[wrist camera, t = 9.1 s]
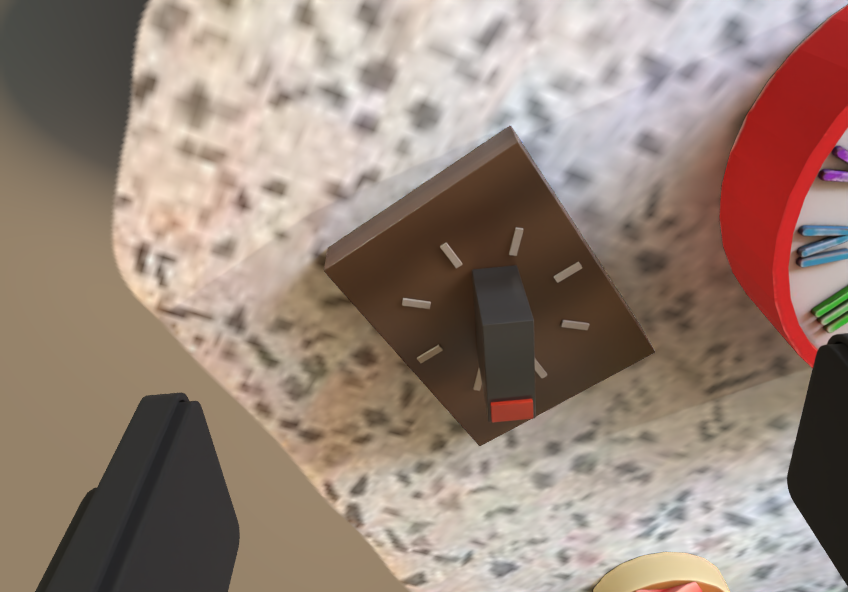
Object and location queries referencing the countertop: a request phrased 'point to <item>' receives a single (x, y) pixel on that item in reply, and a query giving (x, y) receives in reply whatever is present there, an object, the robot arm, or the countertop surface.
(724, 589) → the cake
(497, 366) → the dial
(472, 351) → the panel
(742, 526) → the countertop surface
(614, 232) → the countertop surface
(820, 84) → the toy clock
